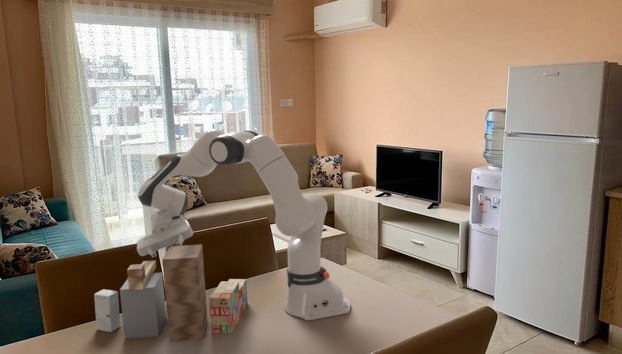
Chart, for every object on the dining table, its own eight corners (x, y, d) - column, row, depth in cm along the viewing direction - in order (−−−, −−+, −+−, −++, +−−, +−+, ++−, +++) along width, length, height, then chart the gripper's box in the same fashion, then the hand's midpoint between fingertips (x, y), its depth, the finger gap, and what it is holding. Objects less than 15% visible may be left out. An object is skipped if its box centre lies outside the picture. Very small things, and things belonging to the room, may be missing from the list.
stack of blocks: (230, 303, 159) (228, 270, 157) (248, 303, 158) (246, 270, 156) (211, 334, 138) (208, 296, 136) (231, 334, 138) (228, 297, 135)
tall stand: (207, 319, 147) (202, 244, 143) (203, 338, 135) (197, 257, 131) (176, 322, 146) (170, 246, 141) (169, 341, 134) (162, 259, 130)
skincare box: (96, 330, 142) (92, 294, 140) (106, 323, 146) (102, 288, 144) (112, 332, 140) (108, 296, 138) (121, 325, 144) (118, 290, 142)
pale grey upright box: (166, 317, 149) (162, 272, 147) (158, 336, 138) (154, 287, 135) (135, 320, 148) (130, 274, 145) (124, 338, 136) (119, 289, 134)
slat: (156, 267, 151) (154, 249, 150) (143, 289, 134) (141, 268, 132) (143, 268, 151) (142, 249, 150) (129, 290, 133) (127, 269, 132)
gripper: (133, 234, 165) (133, 255, 154) (186, 213, 169) (190, 232, 157) (140, 246, 168) (141, 268, 157) (192, 225, 172) (197, 245, 161)
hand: (166, 250), depth 157 cm, fingers open, 8 cm apart
